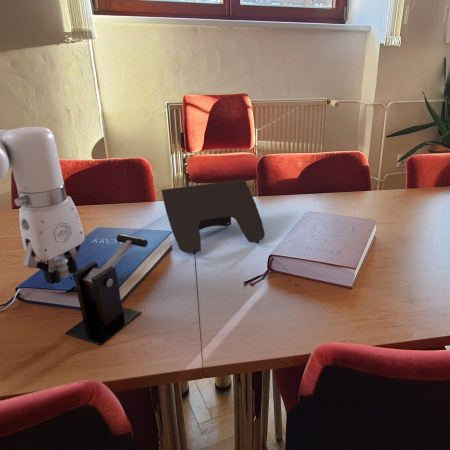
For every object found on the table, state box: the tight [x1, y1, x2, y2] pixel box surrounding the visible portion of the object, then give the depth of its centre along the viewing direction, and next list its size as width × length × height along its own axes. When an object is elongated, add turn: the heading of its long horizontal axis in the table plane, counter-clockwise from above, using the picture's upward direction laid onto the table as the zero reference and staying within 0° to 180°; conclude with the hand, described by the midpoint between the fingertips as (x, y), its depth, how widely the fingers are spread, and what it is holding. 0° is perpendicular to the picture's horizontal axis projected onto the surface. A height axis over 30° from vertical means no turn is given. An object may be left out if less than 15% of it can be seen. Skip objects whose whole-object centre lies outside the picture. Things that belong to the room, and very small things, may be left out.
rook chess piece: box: [54, 254, 69, 294], centre depth 88 cm, size 4×4×8 cm
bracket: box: [64, 261, 143, 347], centre depth 77 cm, size 10×8×12 cm
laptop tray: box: [160, 179, 266, 258], centre depth 115 cm, size 23×23×9 cm
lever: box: [83, 233, 149, 290], centre depth 79 cm, size 12×6×2 cm, turn 159°
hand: (63, 280), depth 89 cm, fingers closed on rook chess piece, 3 cm apart
